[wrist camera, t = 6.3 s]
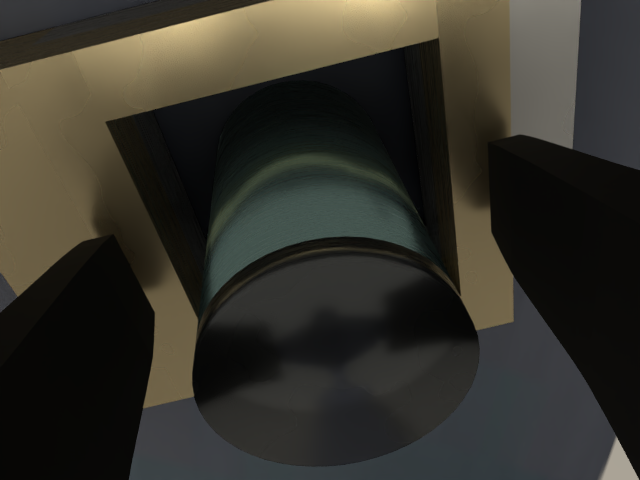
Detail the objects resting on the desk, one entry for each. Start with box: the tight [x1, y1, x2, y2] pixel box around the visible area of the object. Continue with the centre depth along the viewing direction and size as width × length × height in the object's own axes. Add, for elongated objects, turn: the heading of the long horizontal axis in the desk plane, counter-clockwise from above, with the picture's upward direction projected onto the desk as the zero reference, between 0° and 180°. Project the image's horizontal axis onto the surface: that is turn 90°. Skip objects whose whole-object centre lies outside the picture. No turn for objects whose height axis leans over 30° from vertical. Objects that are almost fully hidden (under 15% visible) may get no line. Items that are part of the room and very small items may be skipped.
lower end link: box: [31, 0, 581, 277], centre depth 13 cm, size 8×10×2 cm
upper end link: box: [0, 0, 514, 408], centre depth 12 cm, size 8×10×3 cm
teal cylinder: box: [192, 81, 480, 467], centre depth 10 cm, size 4×4×7 cm
